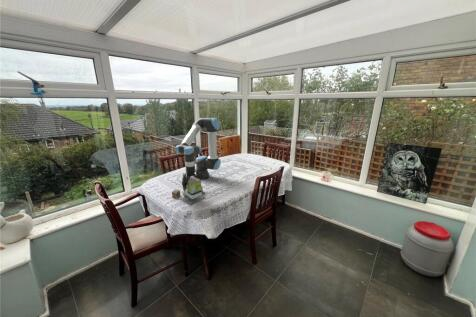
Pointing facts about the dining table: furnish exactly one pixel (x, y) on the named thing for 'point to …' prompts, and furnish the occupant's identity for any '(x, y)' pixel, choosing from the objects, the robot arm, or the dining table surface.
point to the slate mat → (192, 201)
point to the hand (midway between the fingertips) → (192, 189)
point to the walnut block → (176, 193)
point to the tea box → (193, 187)
